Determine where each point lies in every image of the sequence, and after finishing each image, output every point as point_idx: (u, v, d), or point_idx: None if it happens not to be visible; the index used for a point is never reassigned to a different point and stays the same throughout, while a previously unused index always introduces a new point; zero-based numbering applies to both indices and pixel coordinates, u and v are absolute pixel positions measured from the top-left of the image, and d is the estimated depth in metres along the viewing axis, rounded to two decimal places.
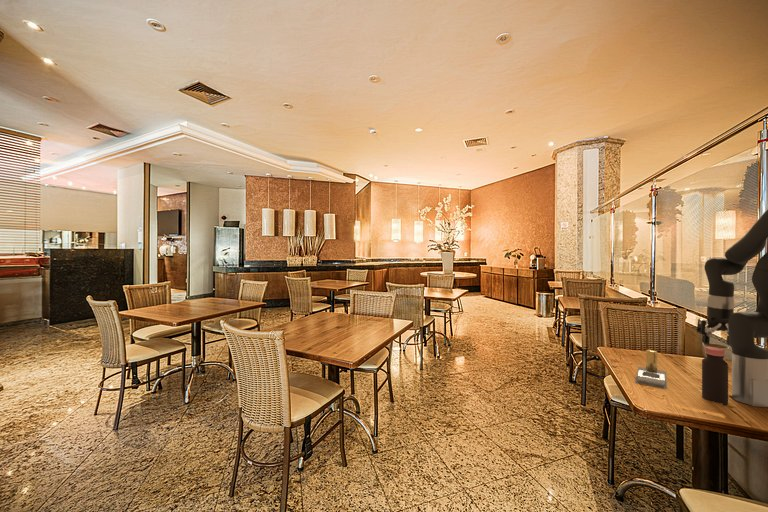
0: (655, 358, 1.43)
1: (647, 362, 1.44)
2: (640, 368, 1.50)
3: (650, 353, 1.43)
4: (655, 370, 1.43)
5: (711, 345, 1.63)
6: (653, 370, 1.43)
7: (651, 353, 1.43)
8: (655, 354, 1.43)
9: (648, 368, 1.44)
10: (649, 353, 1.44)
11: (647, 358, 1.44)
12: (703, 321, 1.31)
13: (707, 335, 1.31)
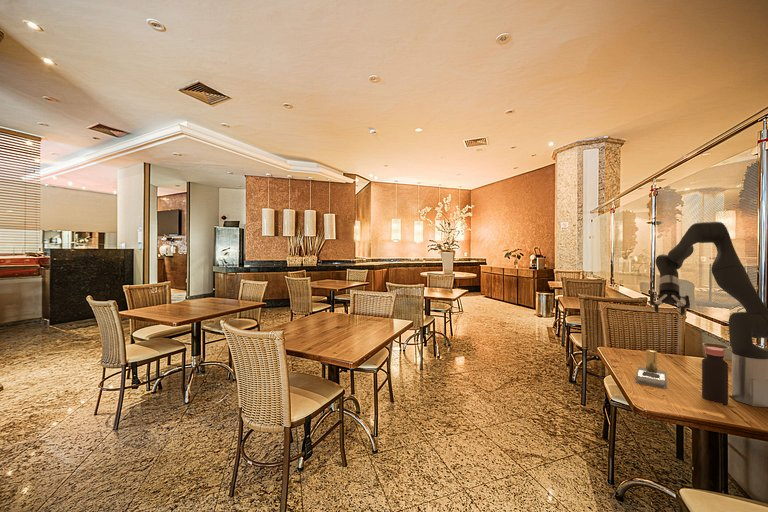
0: (655, 358, 1.43)
1: (647, 362, 1.44)
2: (640, 368, 1.50)
3: (650, 353, 1.43)
4: (655, 370, 1.43)
5: (711, 345, 1.63)
6: (653, 370, 1.43)
7: (651, 353, 1.43)
8: (655, 354, 1.43)
9: (648, 368, 1.44)
10: (649, 353, 1.44)
11: (647, 358, 1.45)
12: (651, 293, 1.59)
13: (656, 303, 1.55)
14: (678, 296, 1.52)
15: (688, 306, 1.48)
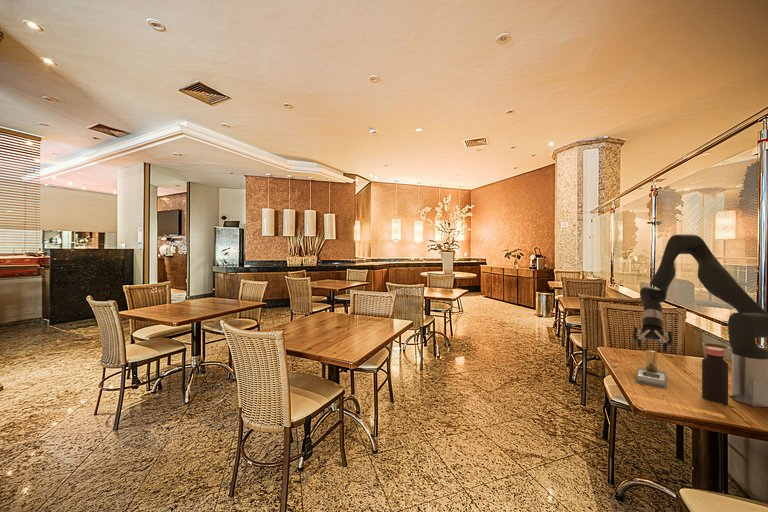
0: (655, 358, 1.43)
1: (647, 362, 1.44)
2: (640, 368, 1.50)
3: (650, 353, 1.43)
4: (655, 370, 1.43)
5: (711, 345, 1.63)
6: (653, 370, 1.43)
7: (651, 353, 1.43)
8: (655, 354, 1.43)
9: (648, 368, 1.44)
10: (649, 353, 1.44)
11: (647, 358, 1.45)
12: (634, 328, 1.57)
13: (639, 338, 1.53)
14: (661, 332, 1.50)
15: (671, 343, 1.46)
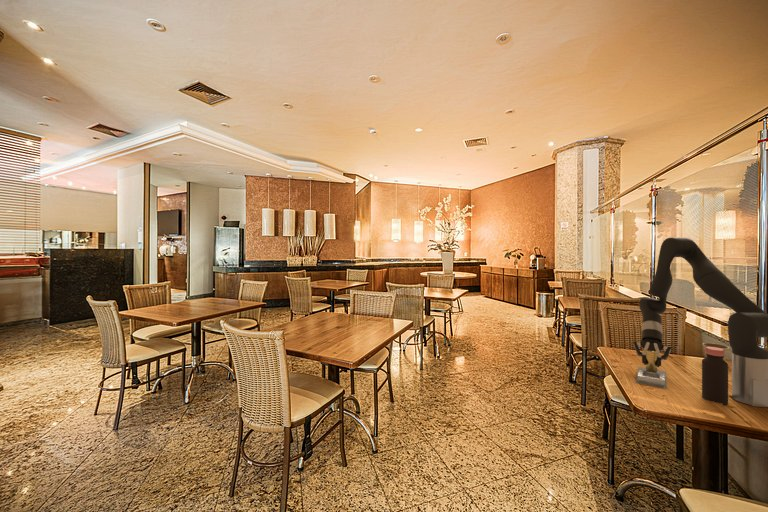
0: (655, 358, 1.43)
1: (647, 362, 1.44)
2: (640, 368, 1.50)
3: (650, 353, 1.43)
4: (655, 370, 1.43)
5: (711, 345, 1.63)
6: (653, 370, 1.43)
7: (651, 353, 1.43)
8: (655, 354, 1.42)
9: (648, 368, 1.44)
10: (649, 353, 1.43)
11: (647, 358, 1.44)
12: (634, 342, 1.52)
13: (643, 354, 1.46)
14: (661, 346, 1.45)
15: (665, 357, 1.42)
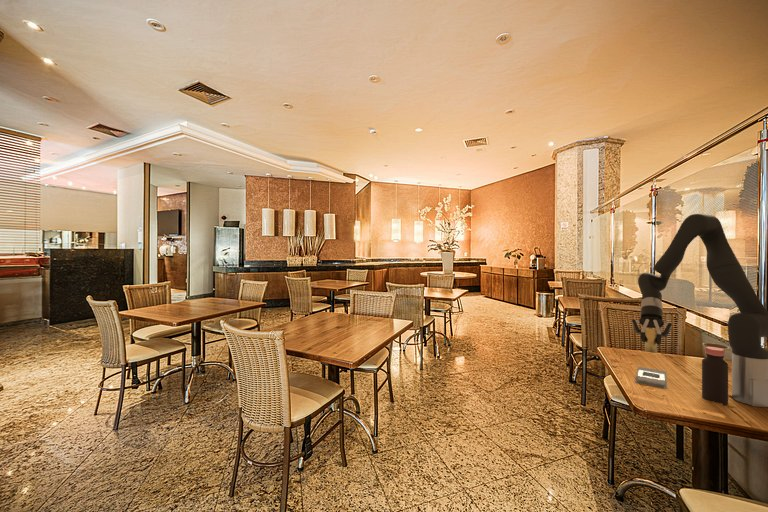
0: (655, 335, 1.34)
1: (646, 340, 1.36)
2: (640, 368, 1.50)
3: (649, 330, 1.35)
4: (655, 348, 1.34)
5: (711, 345, 1.63)
6: (652, 348, 1.34)
7: (650, 330, 1.34)
8: (655, 331, 1.34)
9: (647, 346, 1.35)
10: (648, 330, 1.35)
11: (646, 335, 1.36)
12: (632, 320, 1.43)
13: (642, 331, 1.38)
14: (661, 323, 1.37)
15: (665, 334, 1.34)
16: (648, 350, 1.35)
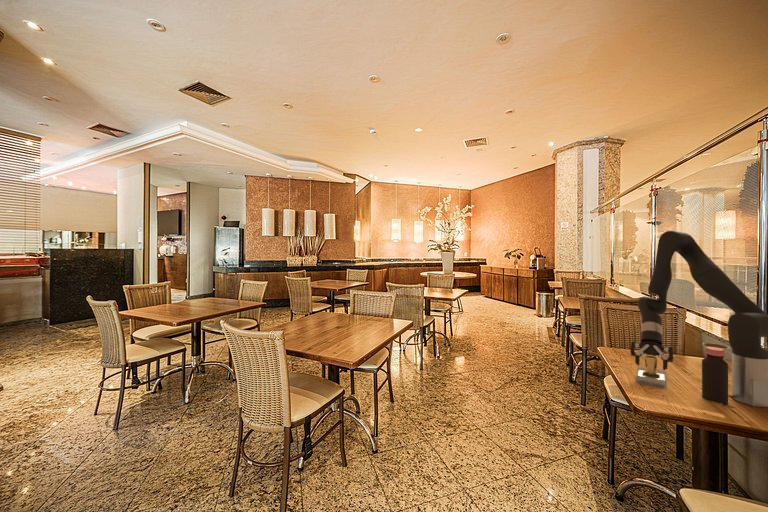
0: (655, 365, 1.34)
1: (646, 369, 1.36)
2: (640, 368, 1.50)
3: (649, 359, 1.35)
4: (655, 377, 1.34)
5: (711, 345, 1.63)
6: None
7: (650, 359, 1.35)
8: (655, 360, 1.34)
9: None
10: (648, 359, 1.35)
11: (646, 364, 1.36)
12: (632, 342, 1.44)
13: (637, 354, 1.40)
14: (661, 347, 1.37)
15: (671, 360, 1.33)
16: None
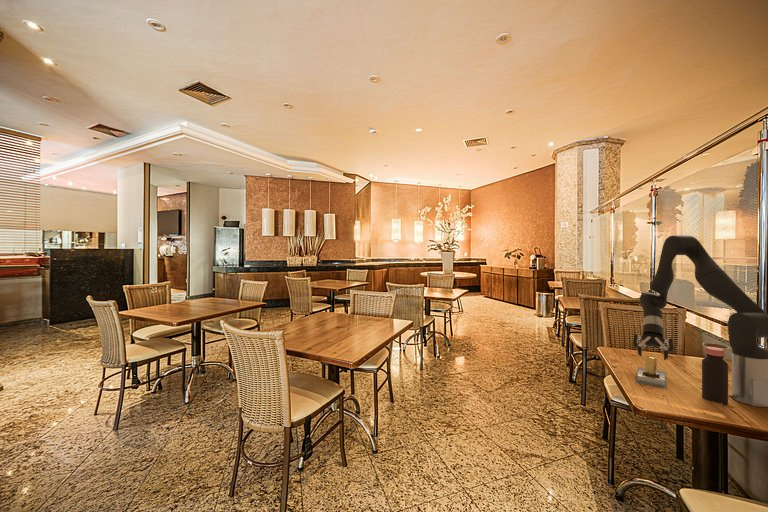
0: (655, 365, 1.34)
1: (646, 369, 1.36)
2: (640, 368, 1.50)
3: (649, 360, 1.35)
4: None
5: (711, 345, 1.63)
6: None
7: (650, 360, 1.35)
8: (655, 361, 1.34)
9: None
10: (648, 360, 1.35)
11: (646, 365, 1.36)
12: (635, 334, 1.54)
13: (639, 346, 1.50)
14: (661, 339, 1.47)
15: (671, 350, 1.43)
16: None
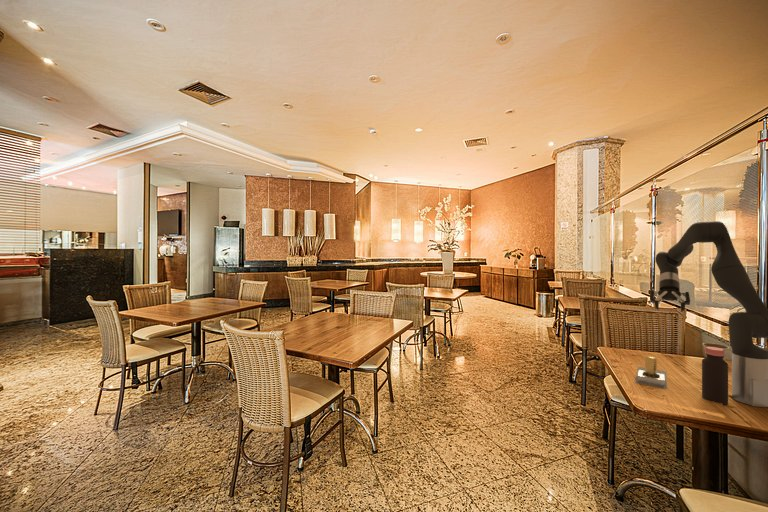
0: (655, 365, 1.34)
1: (646, 369, 1.36)
2: (640, 368, 1.50)
3: (649, 360, 1.35)
4: None
5: (711, 345, 1.63)
6: None
7: (650, 360, 1.35)
8: (654, 361, 1.34)
9: None
10: (648, 359, 1.35)
11: (646, 365, 1.36)
12: (651, 290, 1.59)
13: (656, 300, 1.55)
14: (678, 292, 1.52)
15: (688, 302, 1.48)
16: None
